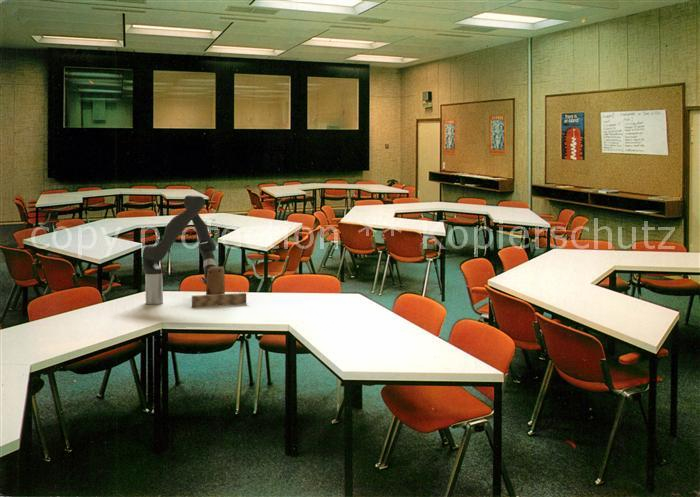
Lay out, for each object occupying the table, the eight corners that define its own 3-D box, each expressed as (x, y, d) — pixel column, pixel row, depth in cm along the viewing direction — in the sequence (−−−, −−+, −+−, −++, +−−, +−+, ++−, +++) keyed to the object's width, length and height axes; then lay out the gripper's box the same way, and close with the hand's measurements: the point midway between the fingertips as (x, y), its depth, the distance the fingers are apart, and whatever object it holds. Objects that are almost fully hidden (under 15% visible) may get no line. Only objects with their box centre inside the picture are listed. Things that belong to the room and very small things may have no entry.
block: (225, 299, 349) (225, 266, 347) (224, 301, 342) (223, 267, 340) (207, 299, 348) (206, 266, 346) (205, 301, 341) (204, 267, 339)
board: (192, 307, 325) (192, 296, 324) (191, 306, 328) (191, 295, 327) (246, 303, 336) (246, 293, 335) (245, 302, 339) (245, 292, 338)
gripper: (199, 264, 357) (202, 287, 347) (221, 263, 362) (225, 286, 351) (198, 271, 362) (201, 294, 352) (220, 271, 367) (223, 293, 357)
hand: (213, 290), depth 352 cm, fingers closed
